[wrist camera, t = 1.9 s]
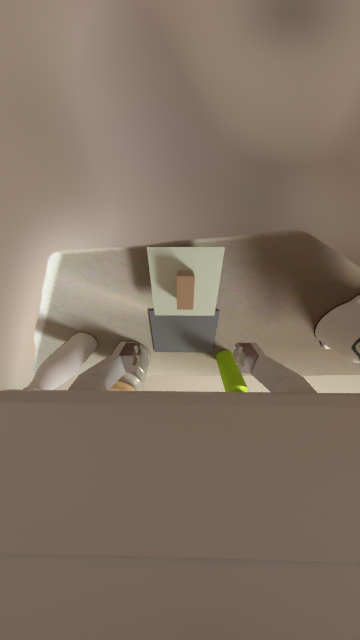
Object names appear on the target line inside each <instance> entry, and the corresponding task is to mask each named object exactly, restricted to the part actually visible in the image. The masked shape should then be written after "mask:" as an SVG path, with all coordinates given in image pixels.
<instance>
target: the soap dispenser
mask: <svg viewBox="0 0 360 640" xmlns="http://www.w3.org/2000/svg"><path fill="white" fill-rule="evenodd" d="M216 360H217V363H218V367H219V370H220V374H221V377H222V381H223V384H224V388H225V391H226V392H248V388H247V386H246V384H245V381H244V379H243V377H242V374H241V373H240V372H239V369H238V367H237V363H236V362H235V360H234V357H233V354H232V353H231V352H230V351H228V350H223V351H220V352H218V353H217V355H216Z"/></svg>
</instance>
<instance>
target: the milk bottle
mask: <svg viewBox="0 0 360 640" xmlns="http://www.w3.org/2000/svg"><path fill="white" fill-rule="evenodd" d="M96 347H97V341H96V339H95V338H94V337H93V336H91V335H89V334H87V333H77V334H75V335H74V336H72V337H71V338H70V339H69V340H68V341H67V342H65V343H64V344H63V345H62V346H61V347H60V348H58V349H57V350H56V351H55V352H54V353H53V354H52V355H50V356H49V357H48V358H47V359H46V360H45V361H44V362H43V363H42V364H41V366H40V367H39V368H38V370H37V372H36V375H35V377H34V379H33V380H32V382H31V383H30V385H29V386H28V387H26V388H24V389H23V390H53V389H55V388H56V387H58V386H59V385H61V384H63V383H65V382H66V381H68V379H70V378H71V377H72V376H73V375H74V374H75V373H76V372H77V371H78V369H79V368H80V367H81V366H82V365H83V363H84V362H85V361H86V360H87V359H88V357H89V356H90V355H91V354H92V352H93V351H94V350H95V349H96Z"/></svg>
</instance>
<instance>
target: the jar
mask: <svg viewBox="0 0 360 640" xmlns="http://www.w3.org/2000/svg"><path fill="white" fill-rule="evenodd" d="M128 342H131V341H128ZM116 348H117V347H116ZM116 348H115V349H116ZM115 349H114V351H115ZM140 349H141V352H142V355H141V360H140V361H139V362H138V364H139V366H138V368H137V371H136V372H126V373H125V374H124V375H123V376H122V377H121V378H120V379H119V380H118V381H117V382H116V383H115V384H114V385H113V386H112V387H111V388H110V389H109V390H108V391H142V390H143V382H144V381H145V379H146V373H147V370H148V366H149V364H150V360H151V358H150V357H151V356H150V352H149V350H148V349H147V348H146V347H145V346H143V345H142V344H140ZM114 351H113V353H114ZM113 353H112V354H113ZM111 356H112V355H111Z"/></svg>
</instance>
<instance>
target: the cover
mask: <svg viewBox="0 0 360 640" xmlns="http://www.w3.org/2000/svg"><path fill="white" fill-rule="evenodd" d="M224 250H225V247H147V253H148V262H149V271H150V279H151V288H152V297H153V305H154V314H155V315H179V316H214V315H215V309H216V302H217V296H218V289H219V283H220V276H221V269H222V263H223V256H224Z"/></svg>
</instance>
